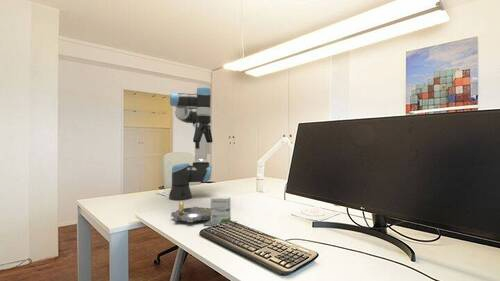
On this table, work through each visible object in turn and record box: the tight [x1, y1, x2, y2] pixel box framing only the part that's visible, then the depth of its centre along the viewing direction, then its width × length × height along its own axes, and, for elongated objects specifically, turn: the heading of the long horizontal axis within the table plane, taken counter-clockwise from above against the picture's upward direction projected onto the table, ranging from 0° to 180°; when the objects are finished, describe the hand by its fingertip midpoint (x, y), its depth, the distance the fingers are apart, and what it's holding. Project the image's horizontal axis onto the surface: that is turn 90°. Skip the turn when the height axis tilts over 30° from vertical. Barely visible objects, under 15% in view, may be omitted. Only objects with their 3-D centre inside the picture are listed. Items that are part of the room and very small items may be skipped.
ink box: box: [210, 196, 232, 224], centre depth 120 cm, size 9×5×12 cm, turn 82°
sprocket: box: [170, 201, 211, 223], centre depth 128 cm, size 21×21×8 cm
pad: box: [203, 218, 237, 227], centre depth 120 cm, size 9×13×1 cm
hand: (203, 154), depth 139 cm, fingers open, 13 cm apart
